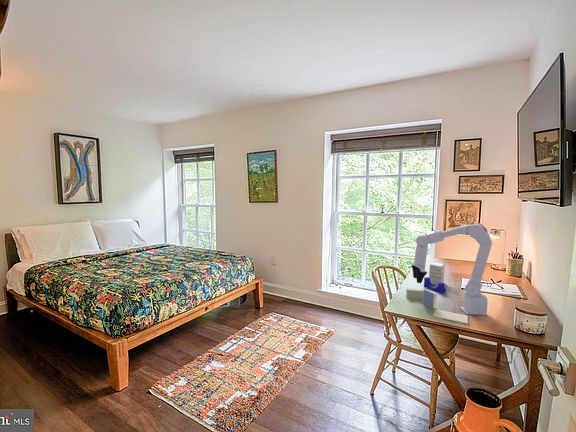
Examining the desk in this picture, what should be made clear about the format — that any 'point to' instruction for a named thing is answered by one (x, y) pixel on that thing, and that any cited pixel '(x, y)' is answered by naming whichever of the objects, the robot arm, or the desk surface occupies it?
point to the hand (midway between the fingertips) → (417, 280)
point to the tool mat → (451, 316)
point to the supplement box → (436, 273)
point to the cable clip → (427, 284)
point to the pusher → (414, 293)
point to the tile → (429, 298)
